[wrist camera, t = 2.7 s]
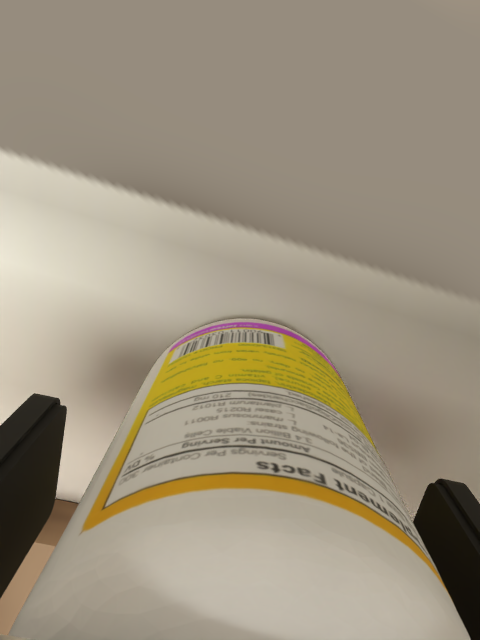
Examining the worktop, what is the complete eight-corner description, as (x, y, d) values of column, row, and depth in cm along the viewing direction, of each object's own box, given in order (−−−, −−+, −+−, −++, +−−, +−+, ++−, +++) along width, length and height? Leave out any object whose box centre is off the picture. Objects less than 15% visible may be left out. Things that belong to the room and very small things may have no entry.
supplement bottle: (256, 527, 16) (274, 1558, 4) (104, 419, 15) (-496, 1379, 3) (389, 396, 15) (1063, 1418, 3) (230, 267, 14) (61, 947, 1)
